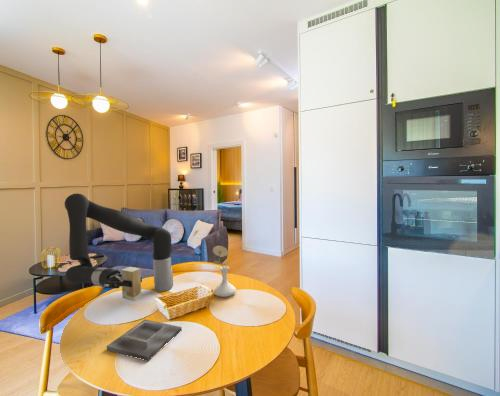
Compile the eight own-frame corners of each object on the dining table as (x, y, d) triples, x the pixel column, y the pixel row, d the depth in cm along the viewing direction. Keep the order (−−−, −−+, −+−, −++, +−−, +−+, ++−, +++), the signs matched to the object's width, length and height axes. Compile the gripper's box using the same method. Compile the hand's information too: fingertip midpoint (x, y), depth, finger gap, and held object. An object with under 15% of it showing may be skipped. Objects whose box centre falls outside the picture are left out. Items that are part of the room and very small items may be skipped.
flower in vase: (240, 292, 132) (239, 244, 131) (227, 300, 123) (225, 250, 121) (221, 287, 139) (219, 242, 138) (207, 295, 130) (205, 247, 128)
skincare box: (122, 298, 104) (120, 269, 103) (130, 294, 108) (129, 266, 107) (133, 301, 101) (132, 271, 101) (142, 296, 105) (140, 267, 105)
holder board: (145, 322, 105) (144, 314, 105) (181, 330, 99) (181, 321, 99) (106, 350, 88) (106, 340, 88) (148, 361, 82) (147, 351, 82)
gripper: (89, 274, 103) (121, 279, 96) (119, 263, 116) (149, 267, 110) (91, 292, 103) (122, 298, 97) (120, 279, 116) (149, 284, 110)
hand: (136, 281), depth 103 cm, fingers closed on skincare box, 4 cm apart
